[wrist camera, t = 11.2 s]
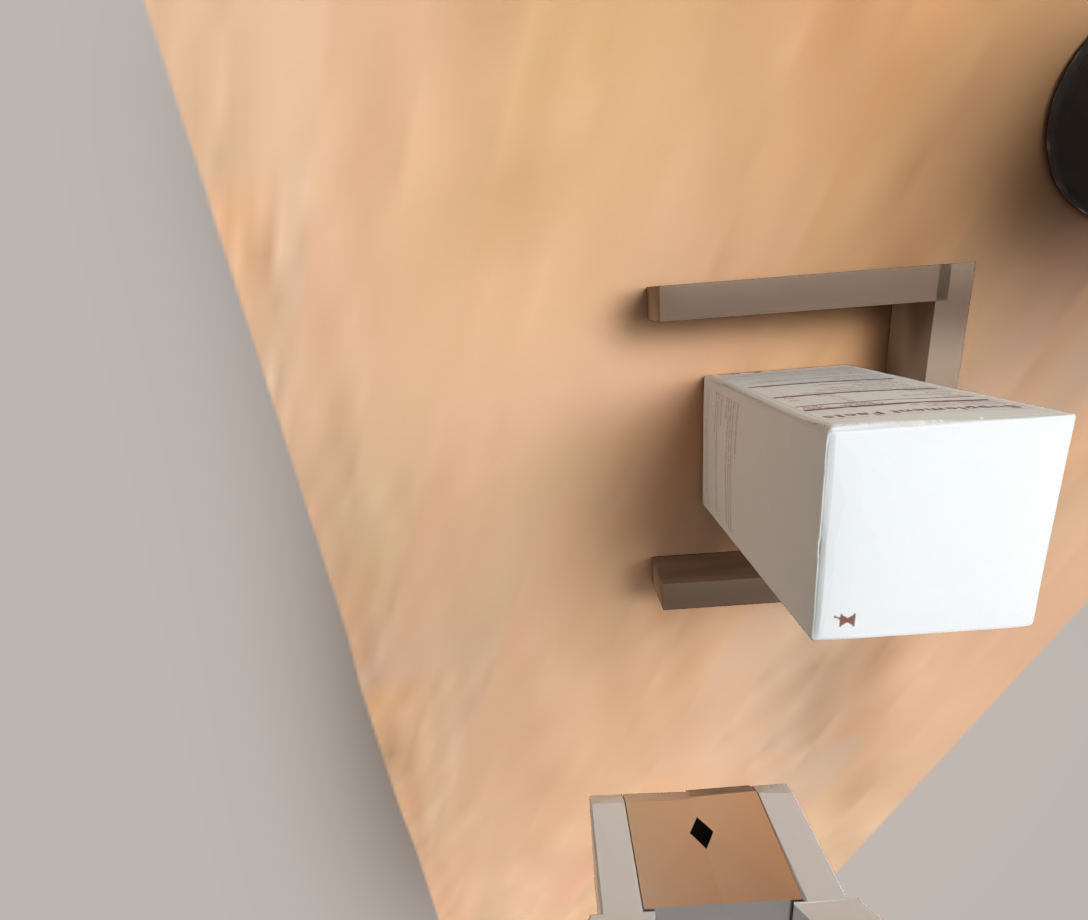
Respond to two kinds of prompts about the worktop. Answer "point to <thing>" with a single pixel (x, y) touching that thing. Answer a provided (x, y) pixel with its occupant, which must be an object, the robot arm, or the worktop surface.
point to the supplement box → (884, 497)
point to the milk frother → (1071, 132)
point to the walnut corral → (916, 322)
